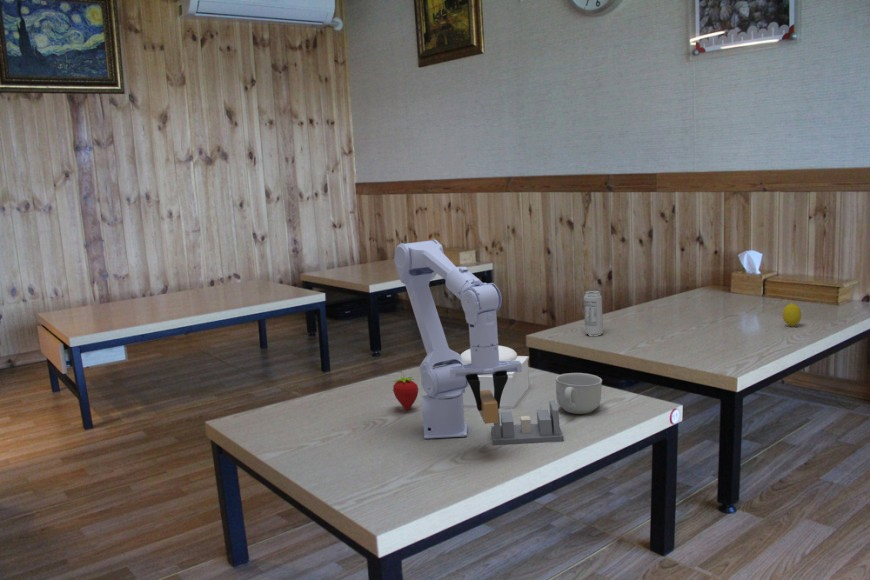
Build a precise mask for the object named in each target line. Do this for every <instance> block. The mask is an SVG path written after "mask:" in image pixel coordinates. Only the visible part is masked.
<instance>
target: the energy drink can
mask: <svg viewBox="0 0 870 580" xmlns="http://www.w3.org/2000/svg"><path fill="white" fill-rule="evenodd" d="M602 298H603V297H602V294H601V292H600V291H599V290H588V291H585V294H584V296H583V310H584V311H583V312H584V313H583V314H584V333H585V334H586V335H587V334H591V335H598V334H603V333H604V323H603V322H604V321H603V319H604V318H603V317H604V316H603V299H602Z"/></svg>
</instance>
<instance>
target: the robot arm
mask: <svg viewBox="0 0 870 580" xmlns="http://www.w3.org/2000/svg"><path fill="white" fill-rule="evenodd" d="M444 253H445V252H444V248H443V245H442V243H439V241H438V240H437V239H430V240H425V241H416V242H409V243H402V242H401V243H399V244H398V245H397V246H396V248H395V252H394V257H393V258H394V259H393V261H394V266H395V268H396V271H397V274H398V277H399V280H400V283H401V284H403V285H404V286H405V288H406V291H407V294H408V298H409V301H410V304H411V307H412V310H413V313H414V317H415V320H416V323H417V327H418V330H419V333H420V336H421V340H422V343H423V347H424V350H425V352H426V356H425V358H424V359H423V360H422V362H421V363H420V365H419V367H418V368H419V371H420V381H421V386H422V389H423V391H424V393H426V395H425V394H424V395H422V396H421V409H422V410H421V412H422V428H423V437H424V439H444V438H445V439H446V438H461V437H463V438H464V437H465V438H466V437H467V436H468V423H467V422H465V410H464V406H463V393H465V388H467V387H468V385H470V387H471V389H472V392H473V394H474V397H475V400H476V404H477V407H476V408H477V411H478V412H479V411H481V410H482V409H481V398H480V381H479V377H478V375H485V374H492V375H493V383H494V398H495V400H496V401H497V403H498V409H499V410H500V409H501V408H500V400H501V396H502V392H503V389H504V387H505V384H506V382H507V380H508V375H507V372H522V366H521V362H520V361H499V349H498V346H499V333H498V320H497V318H498V317H497V316H498V315H497V311H499V310H500V308H501V306H502V300H503V298H502V294H501V291H500V289H499V288H498V287H497V285H496V284H495V283H493V282H489V283H487V282H482V281H481V279H480V278H478V277H477V276H475V275H474V274H473V273H472V272H471V271H469V268H468V267H466V266H456V265H455V264H454V263H453V262H452V260H450V259H449V257H447V256H446V254H444ZM437 275H438V276H440V277H441V278H442V279H444V280H445V287H446V288H447V290H449V292H451V293H452V294H453V295H454V296H455V297H457V298H458V300H460V302H461V303H460V304H461V307H462V310H463V312H464V316H465V321H466V324H468V332H469V347H470V348H469V349H470V351H471V364H466V365H465V364H464V362H463V360H462V358H461V354H460V353H458V352H457V351H454V350H452V349H451V348H450V347H449V344H448V341H447V337H446V335H445V332H444V328H443V325H442V322H441V319H440V316H439V313H438V310H437V308H436V307H437V306H436V303H435V300H434V297H433V294H432V291H431V289H430V282H431V281H432V280H433V279H435V278H436V276H437Z"/></svg>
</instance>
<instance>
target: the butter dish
mask: <svg viewBox="0 0 870 580" xmlns="http://www.w3.org/2000/svg"><path fill="white" fill-rule="evenodd" d="M498 349H499V361H520V362H521V366H522V372H507V375H508V380H507V382H506V384H505V387H504V389H503V392H502V396H501V400H500V409H512V410H513V409H515V407H516V406H517V405H518V403H519V402H520V401H521V400H522V398H523V397H524V396H525V395H526V393H527V392H528V390H529V389H530V379H529V378H530V377H529V376H530V375H529V358H530V356H529V355H528V356H526V355H518V354H517V352H516V351H515V350H514V349H513V348H511V347H508V346H504V345H498ZM460 355H461V358H462V360H463V362H464V364H465V365H466V364H471V351H470V348H468V349H466V350H465V351H463V352H462V353H461V354H460ZM478 377H479V381H480V391H483V390H490V391H491V393H492V394H493V396H494V383H493V375H492V374H485V375H478ZM463 406H464V407H465V408H477V404H476V400H475V397H474V394H473V392H472V389H471V387H470V385H468V387H467V388H465V393H463Z"/></svg>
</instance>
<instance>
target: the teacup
mask: <svg viewBox="0 0 870 580" xmlns="http://www.w3.org/2000/svg"><path fill="white" fill-rule="evenodd" d="M602 383H603V379H602V378H601V377H599V376H598V375H594V374H590V373H583V372H571V373H570V372H569V373H562V374H560V375H557V376H556V377H555V395H556V397H555V398H556V401H557V405H558V406H559V407H561V408H562V409H563V411H565V412H567V413H569V414H573V415H574V414H575V415H585V414H591V413H592V412H593V411H594V410H596V409H597V408H598V407H599V406H600V404H601V399H602Z"/></svg>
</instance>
